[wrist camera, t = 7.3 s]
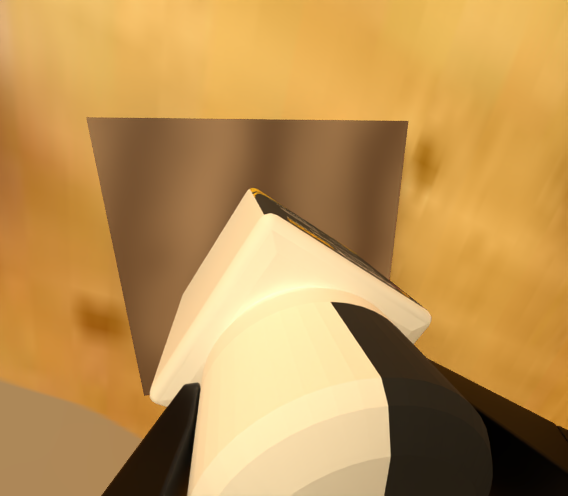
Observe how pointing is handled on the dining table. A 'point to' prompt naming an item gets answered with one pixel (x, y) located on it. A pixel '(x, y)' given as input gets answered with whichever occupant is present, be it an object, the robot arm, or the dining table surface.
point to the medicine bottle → (312, 373)
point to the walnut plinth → (234, 197)
